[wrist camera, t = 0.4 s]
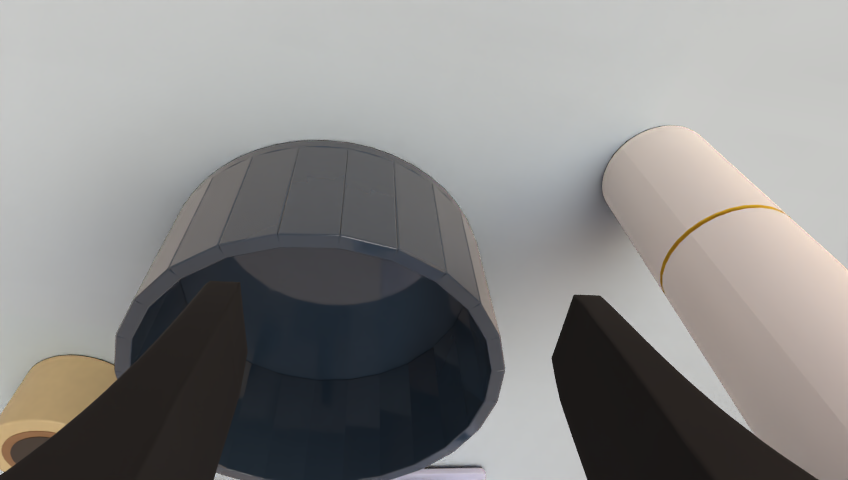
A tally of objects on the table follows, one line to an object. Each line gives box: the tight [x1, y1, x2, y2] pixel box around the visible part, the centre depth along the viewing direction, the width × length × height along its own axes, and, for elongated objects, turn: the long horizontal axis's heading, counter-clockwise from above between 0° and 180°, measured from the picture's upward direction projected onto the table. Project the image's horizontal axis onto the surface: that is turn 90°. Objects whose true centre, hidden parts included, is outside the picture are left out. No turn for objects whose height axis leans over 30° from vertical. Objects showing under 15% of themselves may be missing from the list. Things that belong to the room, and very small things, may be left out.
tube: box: [602, 126, 848, 480], centre depth 16 cm, size 4×4×15 cm
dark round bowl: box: [114, 140, 505, 480], centre depth 21 cm, size 13×13×6 cm
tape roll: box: [0, 355, 117, 472], centre depth 25 cm, size 5×5×4 cm
